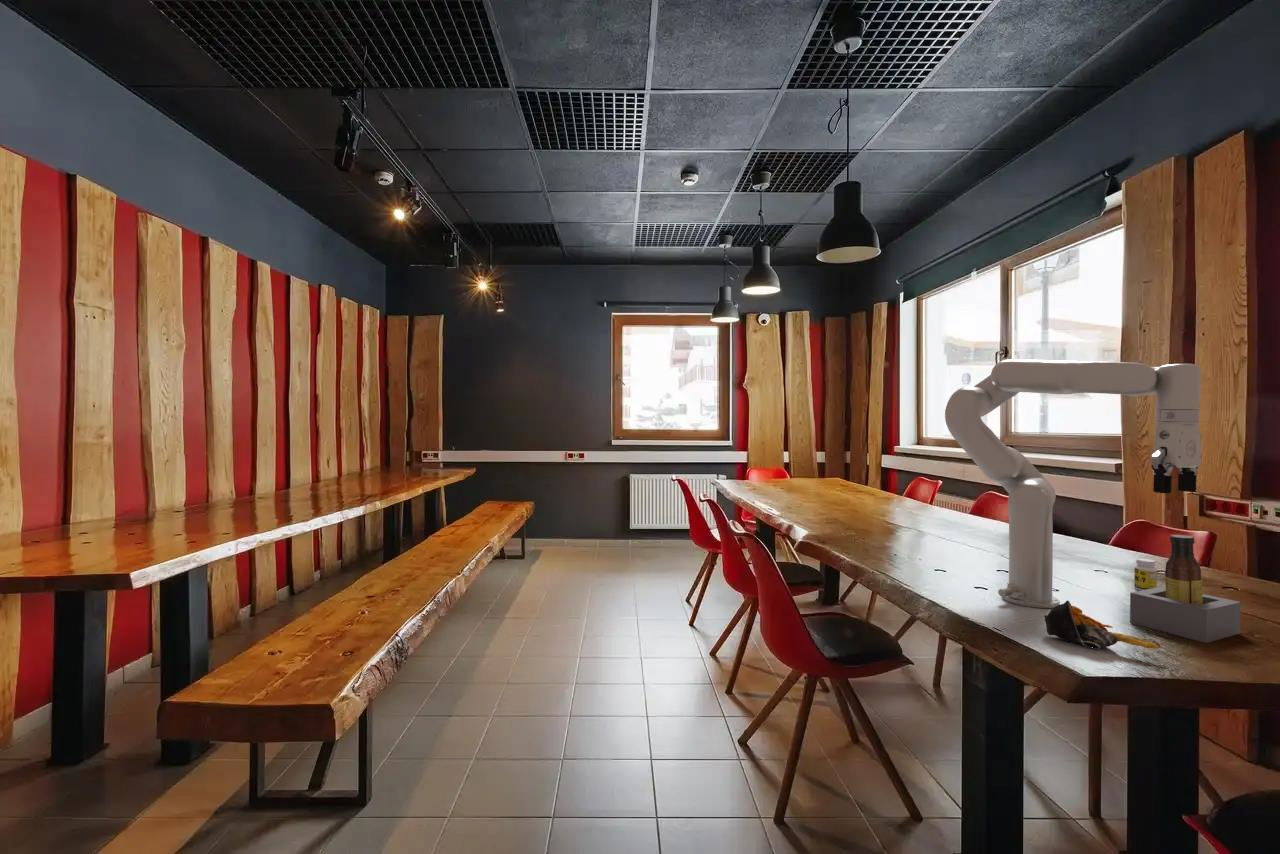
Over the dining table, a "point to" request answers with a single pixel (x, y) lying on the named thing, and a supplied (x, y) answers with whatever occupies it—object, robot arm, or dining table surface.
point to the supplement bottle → (1145, 574)
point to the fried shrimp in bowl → (1087, 629)
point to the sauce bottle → (1183, 572)
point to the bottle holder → (1185, 615)
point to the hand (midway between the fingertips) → (1174, 492)
